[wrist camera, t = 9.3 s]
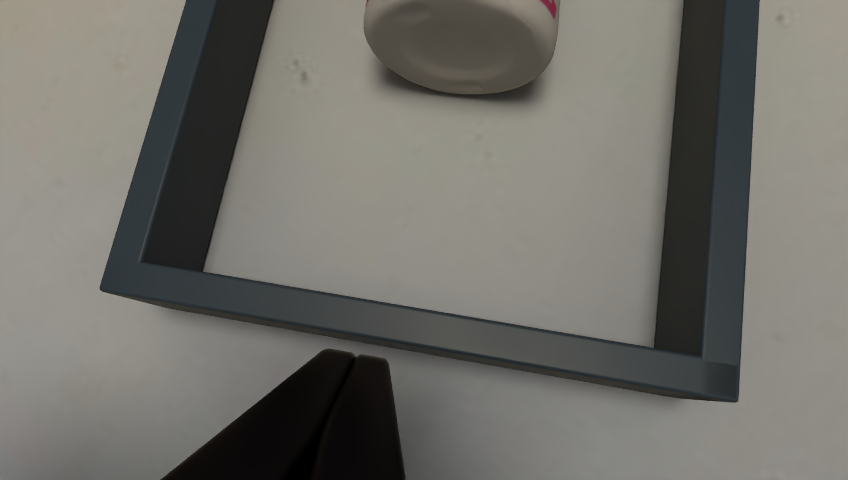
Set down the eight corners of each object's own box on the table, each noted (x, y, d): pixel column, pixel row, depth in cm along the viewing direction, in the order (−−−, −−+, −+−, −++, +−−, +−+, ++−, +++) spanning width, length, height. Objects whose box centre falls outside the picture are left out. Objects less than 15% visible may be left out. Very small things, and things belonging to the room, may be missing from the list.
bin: (683, 399, 14) (739, 403, 12) (163, 307, 16) (96, 290, 13) (725, -175, 18) (775, -279, 15) (305, -211, 20) (279, -314, 17)
